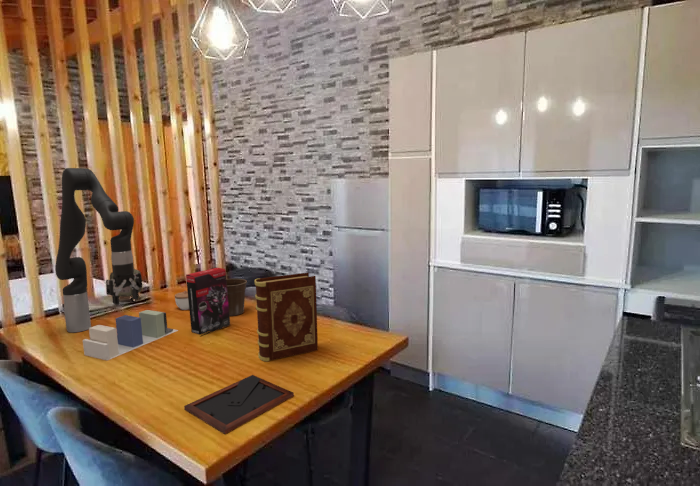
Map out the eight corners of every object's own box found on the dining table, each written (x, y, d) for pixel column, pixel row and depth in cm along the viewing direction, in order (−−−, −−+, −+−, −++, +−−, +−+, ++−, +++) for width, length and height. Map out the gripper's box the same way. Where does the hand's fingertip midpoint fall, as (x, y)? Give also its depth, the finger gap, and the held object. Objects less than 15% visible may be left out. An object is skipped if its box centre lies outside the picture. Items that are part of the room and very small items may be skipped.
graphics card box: (199, 337, 181) (195, 275, 176) (189, 334, 184) (184, 274, 180) (230, 326, 195) (227, 268, 191) (220, 323, 198) (217, 266, 194)
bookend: (151, 330, 186) (149, 310, 185) (158, 327, 190) (156, 308, 188) (165, 333, 182) (164, 313, 181) (173, 330, 186) (171, 310, 184)
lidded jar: (182, 305, 229) (181, 288, 228) (201, 305, 228) (199, 288, 226) (171, 311, 219) (170, 293, 217) (190, 311, 217) (189, 294, 216)
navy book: (118, 344, 172) (115, 318, 170) (127, 340, 176) (125, 315, 174) (133, 347, 168) (130, 321, 166) (143, 343, 172) (140, 317, 170)
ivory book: (91, 354, 162) (88, 328, 161) (101, 350, 166) (98, 324, 164) (109, 358, 158) (106, 331, 156) (118, 354, 162) (116, 328, 160)
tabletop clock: (111, 302, 237) (107, 258, 233) (122, 297, 246) (118, 255, 242) (135, 302, 235) (130, 258, 231) (145, 298, 243) (141, 255, 240)
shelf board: (84, 357, 162) (82, 340, 161) (157, 328, 192) (156, 313, 191) (107, 363, 156) (105, 345, 155) (178, 332, 187) (177, 317, 186)
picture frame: (252, 379, 143) (184, 411, 124) (252, 374, 143) (184, 405, 124) (293, 397, 131) (224, 436, 112) (293, 391, 130) (224, 429, 111)
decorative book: (262, 362, 155) (258, 283, 150) (256, 355, 162) (252, 278, 157) (318, 350, 165) (316, 275, 160) (310, 343, 172) (308, 272, 167)
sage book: (140, 334, 182) (138, 312, 180) (148, 331, 186) (146, 309, 184) (157, 338, 178) (155, 315, 176) (165, 334, 181) (163, 312, 180)
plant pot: (234, 306, 226) (232, 276, 223) (255, 311, 216) (253, 280, 214) (208, 314, 213) (206, 283, 210) (229, 320, 203) (227, 287, 201)
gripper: (131, 258, 175) (135, 296, 177) (99, 264, 162) (103, 305, 164) (144, 259, 171) (147, 298, 174) (112, 266, 159) (116, 307, 161)
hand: (126, 301), depth 169 cm, fingers open, 8 cm apart
